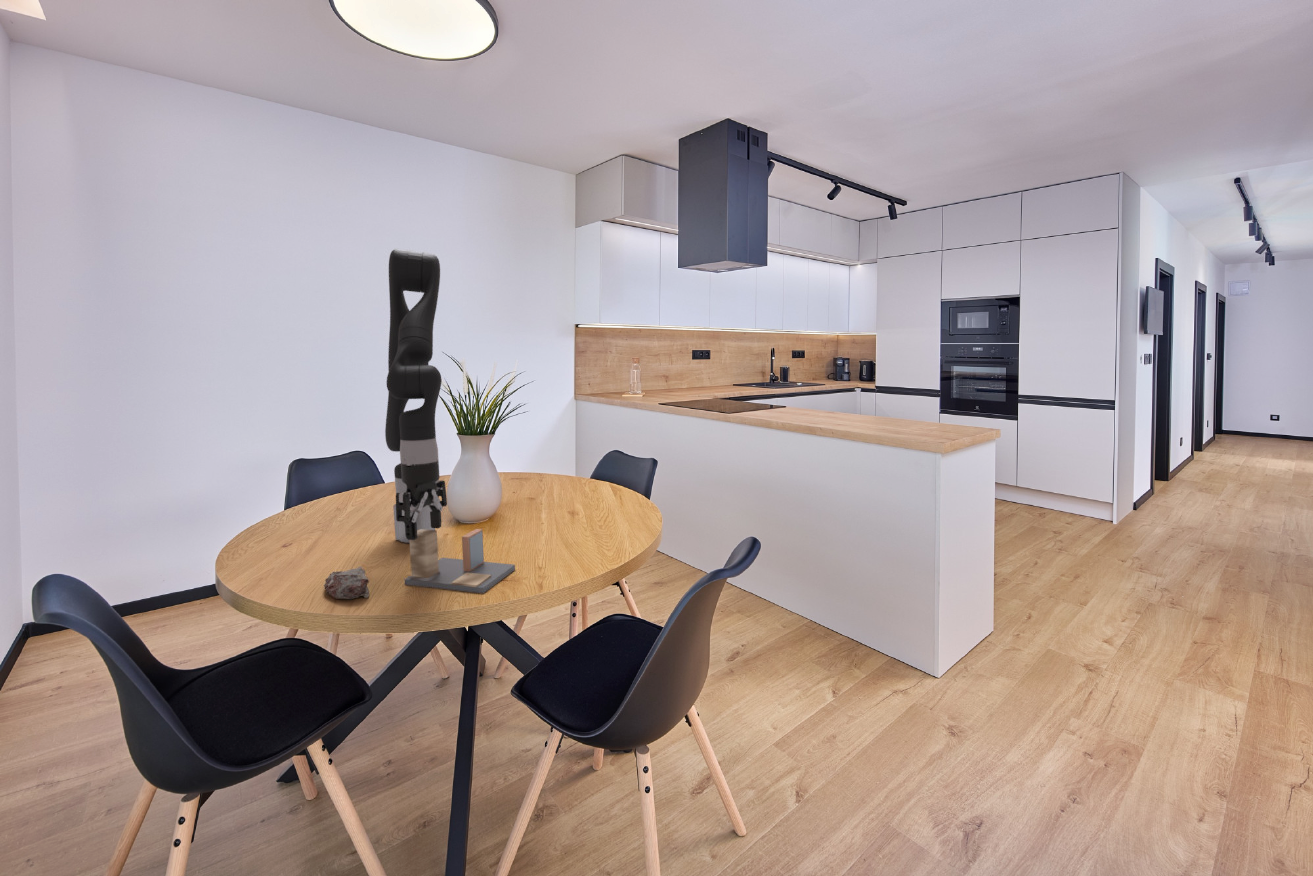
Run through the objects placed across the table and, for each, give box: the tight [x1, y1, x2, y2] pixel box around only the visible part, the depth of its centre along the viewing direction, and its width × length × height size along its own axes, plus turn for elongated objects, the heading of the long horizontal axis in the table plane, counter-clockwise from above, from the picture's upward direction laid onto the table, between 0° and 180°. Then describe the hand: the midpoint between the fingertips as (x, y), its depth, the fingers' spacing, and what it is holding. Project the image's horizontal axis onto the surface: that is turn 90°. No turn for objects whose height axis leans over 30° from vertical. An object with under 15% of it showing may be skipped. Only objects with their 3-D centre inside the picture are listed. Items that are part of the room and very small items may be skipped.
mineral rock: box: [323, 565, 370, 600], centre depth 126 cm, size 15×8×4 cm, turn 32°
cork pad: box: [451, 572, 491, 587], centre depth 129 cm, size 6×6×1 cm
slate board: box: [403, 557, 516, 594], centre depth 134 cm, size 19×14×1 cm
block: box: [409, 529, 440, 581], centre depth 130 cm, size 4×4×10 cm
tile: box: [461, 528, 485, 572], centre depth 137 cm, size 2×6×8 cm, turn 166°
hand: (424, 533), depth 130 cm, fingers open, 8 cm apart
